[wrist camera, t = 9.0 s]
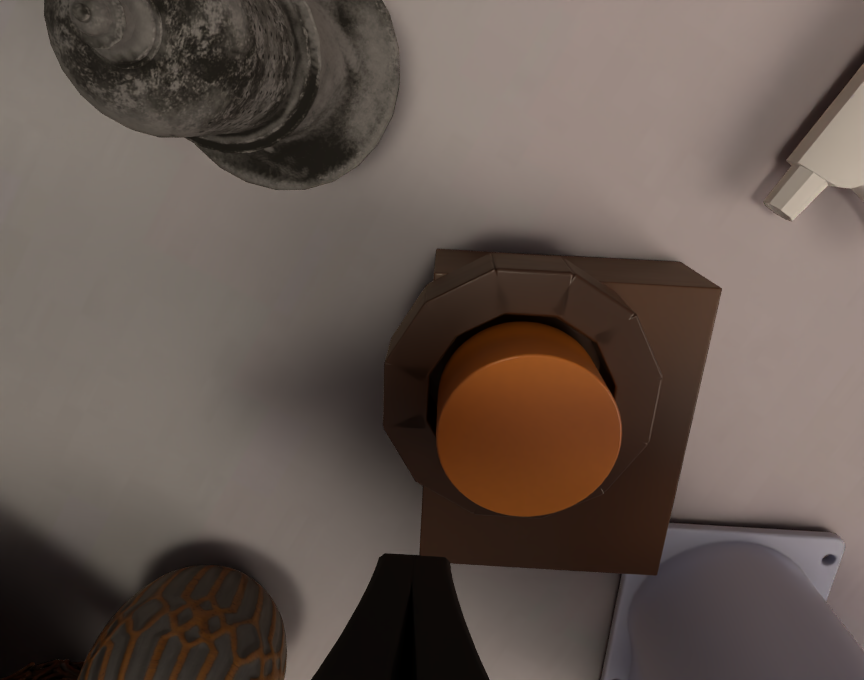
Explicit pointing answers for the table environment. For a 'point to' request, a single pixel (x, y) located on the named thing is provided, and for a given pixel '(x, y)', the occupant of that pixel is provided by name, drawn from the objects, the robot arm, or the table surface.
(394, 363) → the brown button base
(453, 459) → the orange button
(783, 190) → the spray bottle
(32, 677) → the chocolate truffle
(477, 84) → the table surface
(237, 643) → the vase
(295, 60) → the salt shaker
